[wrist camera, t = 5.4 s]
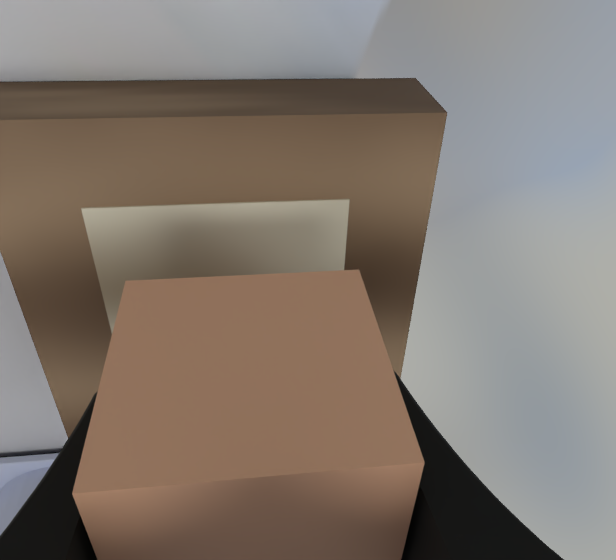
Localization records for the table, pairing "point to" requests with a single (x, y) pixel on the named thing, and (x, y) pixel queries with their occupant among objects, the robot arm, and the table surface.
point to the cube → (248, 425)
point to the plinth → (206, 198)
